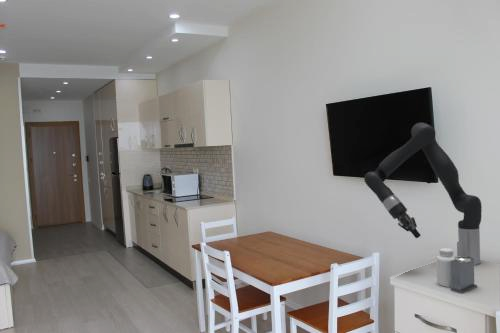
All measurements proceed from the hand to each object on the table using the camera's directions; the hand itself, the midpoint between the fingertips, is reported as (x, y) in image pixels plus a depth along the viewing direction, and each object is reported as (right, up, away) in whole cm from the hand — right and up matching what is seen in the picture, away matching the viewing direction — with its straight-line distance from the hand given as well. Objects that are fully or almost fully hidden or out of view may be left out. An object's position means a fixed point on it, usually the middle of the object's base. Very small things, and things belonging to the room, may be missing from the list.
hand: (418, 237), depth 196 cm
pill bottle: (+8, -18, -12) cm, 23 cm away
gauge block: (+11, -18, -18) cm, 28 cm away
